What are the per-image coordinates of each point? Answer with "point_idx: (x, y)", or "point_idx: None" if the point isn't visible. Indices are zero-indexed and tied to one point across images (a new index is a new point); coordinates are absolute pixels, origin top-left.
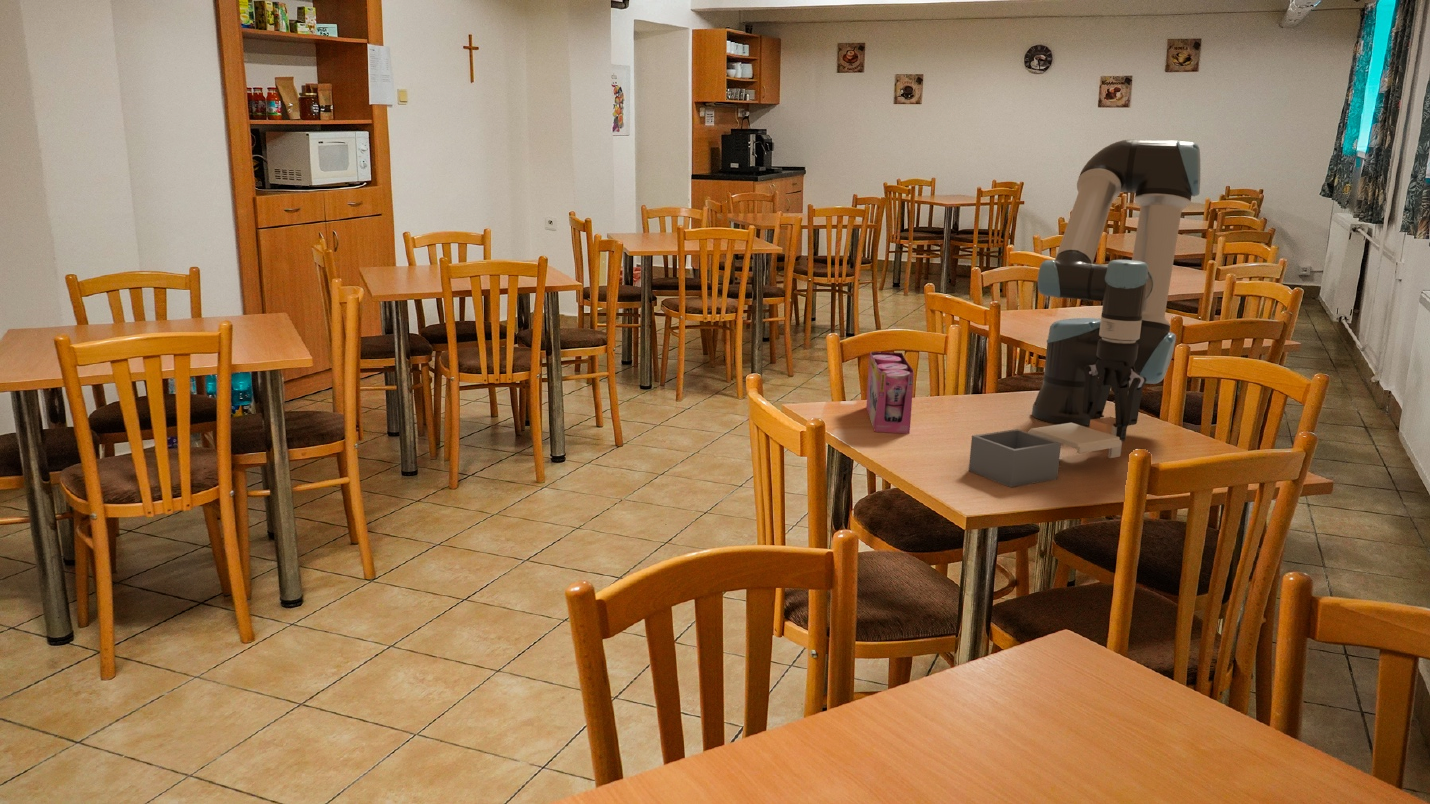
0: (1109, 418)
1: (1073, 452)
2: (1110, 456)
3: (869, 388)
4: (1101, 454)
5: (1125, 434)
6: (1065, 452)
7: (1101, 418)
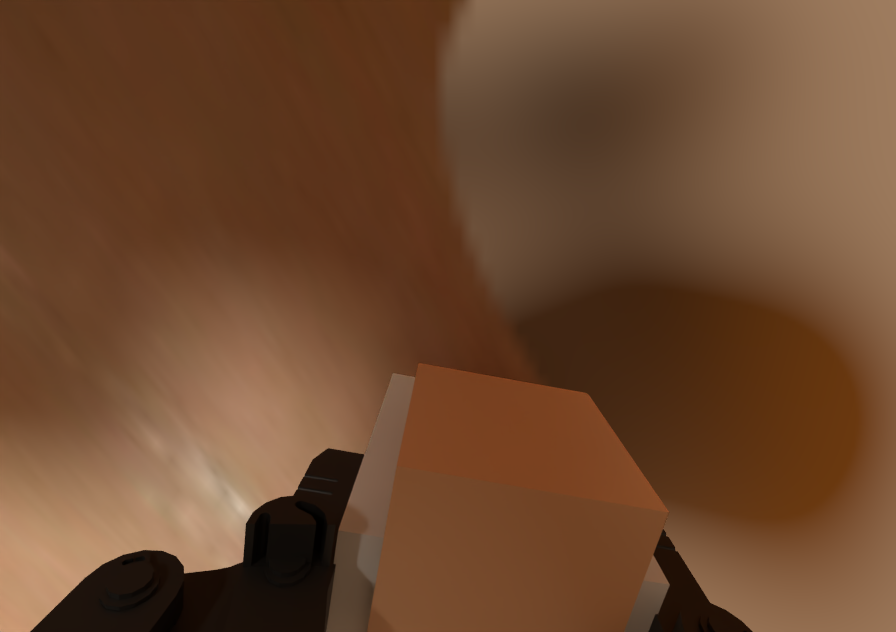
0: (441, 555)
1: (290, 435)
2: None
3: None
4: (410, 336)
5: (676, 558)
6: (266, 470)
7: (381, 627)
